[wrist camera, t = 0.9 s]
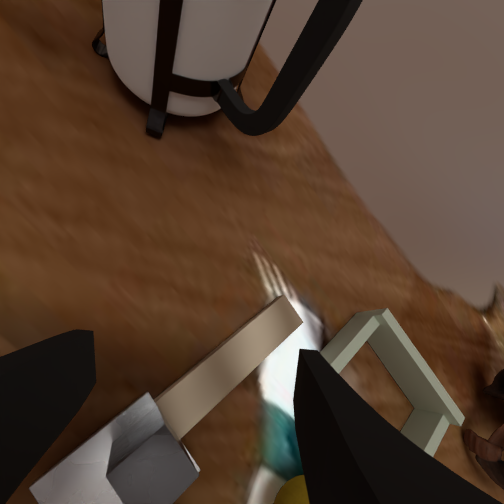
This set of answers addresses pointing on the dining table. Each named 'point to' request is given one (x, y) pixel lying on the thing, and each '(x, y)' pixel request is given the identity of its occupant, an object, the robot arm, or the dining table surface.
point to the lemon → (293, 492)
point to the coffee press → (212, 56)
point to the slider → (122, 463)
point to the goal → (399, 374)
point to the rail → (227, 366)
